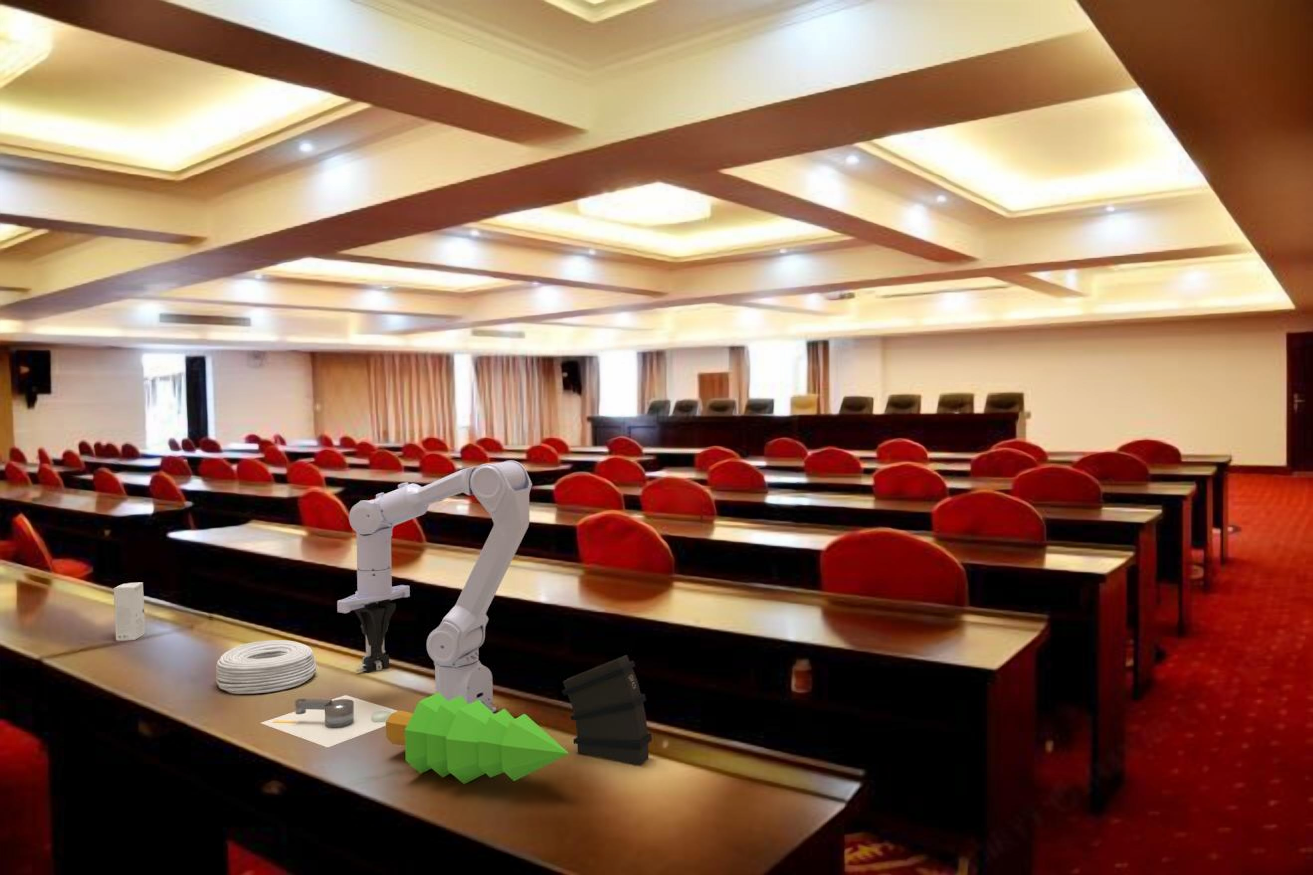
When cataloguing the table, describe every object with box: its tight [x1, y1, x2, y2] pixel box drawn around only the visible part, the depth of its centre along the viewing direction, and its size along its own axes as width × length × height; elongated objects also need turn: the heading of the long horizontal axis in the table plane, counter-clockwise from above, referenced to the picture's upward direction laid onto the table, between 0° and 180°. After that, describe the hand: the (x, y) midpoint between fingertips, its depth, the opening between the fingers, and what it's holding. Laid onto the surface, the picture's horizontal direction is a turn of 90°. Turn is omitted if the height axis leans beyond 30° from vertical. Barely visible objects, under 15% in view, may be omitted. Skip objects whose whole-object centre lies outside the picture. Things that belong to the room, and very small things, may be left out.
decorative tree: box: [385, 693, 570, 785], centre depth 119 cm, size 11×12×30 cm
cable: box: [215, 639, 317, 695], centre depth 163 cm, size 18×18×6 cm
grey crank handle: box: [294, 698, 354, 727], centre depth 138 cm, size 10×4×3 cm, turn 85°
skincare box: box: [113, 582, 146, 642], centre depth 194 cm, size 6×4×12 cm
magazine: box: [561, 654, 653, 766], centre depth 127 cm, size 4×13×15 cm, turn 64°
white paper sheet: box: [260, 694, 398, 748], centre depth 139 cm, size 18×16×2 cm
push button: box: [355, 622, 390, 673], centre depth 169 cm, size 7×5×10 cm
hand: (375, 645), depth 149 cm, fingers closed
